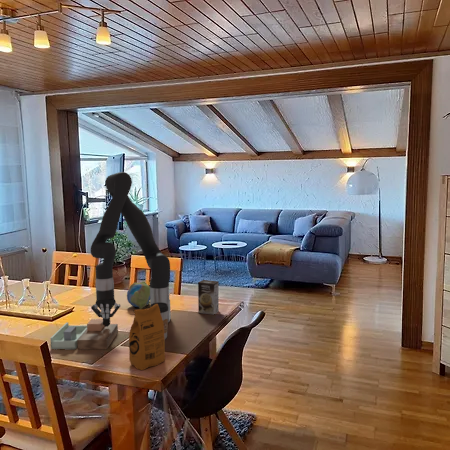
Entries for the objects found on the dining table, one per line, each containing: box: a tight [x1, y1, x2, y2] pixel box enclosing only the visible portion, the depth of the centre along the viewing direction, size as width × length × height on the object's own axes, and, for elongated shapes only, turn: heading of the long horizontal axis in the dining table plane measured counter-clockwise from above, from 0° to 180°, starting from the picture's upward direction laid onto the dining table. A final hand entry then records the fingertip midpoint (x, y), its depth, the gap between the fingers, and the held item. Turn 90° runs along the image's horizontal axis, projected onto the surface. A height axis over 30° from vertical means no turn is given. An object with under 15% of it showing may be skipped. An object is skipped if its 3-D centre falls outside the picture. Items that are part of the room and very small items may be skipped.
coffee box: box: [197, 279, 220, 316], centre depth 220 cm, size 9×6×16 cm
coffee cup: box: [148, 302, 169, 340], centre depth 186 cm, size 8×8×15 cm
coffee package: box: [128, 304, 166, 371], centre depth 162 cm, size 10×12×22 cm
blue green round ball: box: [126, 281, 150, 309], centre depth 230 cm, size 14×16×15 cm
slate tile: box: [64, 327, 77, 341], centre depth 181 cm, size 6×6×3 cm
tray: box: [49, 322, 87, 351], centre depth 185 cm, size 10×18×5 cm, turn 0°
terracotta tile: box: [86, 318, 105, 331], centre depth 189 cm, size 6×6×3 cm
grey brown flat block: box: [77, 323, 119, 350], centre depth 185 cm, size 12×18×4 cm, turn 0°
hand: (106, 325), depth 188 cm, fingers closed
